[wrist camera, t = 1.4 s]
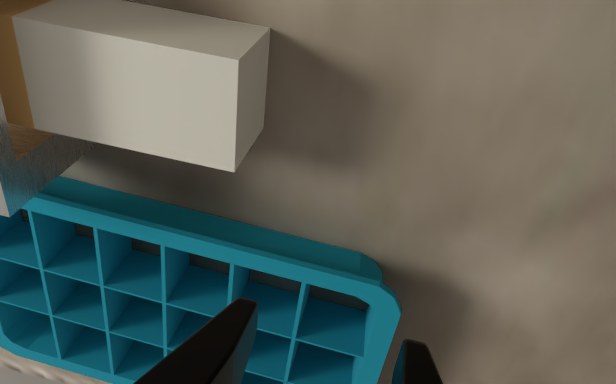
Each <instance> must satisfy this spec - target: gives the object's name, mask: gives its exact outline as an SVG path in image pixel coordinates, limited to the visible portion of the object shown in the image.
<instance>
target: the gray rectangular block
mask: <svg viewBox="0 0 616 384" xmlns="http://www.w3.org/2000/svg"><path fill="white" fill-rule="evenodd" d="M94 146H95V142H93V141H88V140H83V139H79V138H74V137H70V136H65V135H61V134H56V133H52V132H47V131H42V130H38V129H33V128H29V127H24V126H20V125H15V124H11V123H7V120H6V116H5V111H4V107H3V103H2V99H1V95H0V215H2V216H6V217H11V216H12V215H13V214H14V213H15V212H17V211H18V210H19V209H20V208H21V207H23V206H24V205H25V204H26V203H27V202H29V201H30V200H31V199H32V198H33V197H34V196H36V195H37V194H38V193H39V192H40V191H42V190H43V189H44V188H45V187H46V186H47V185H49V184H50V183H51V182H52V181H53V180H55V179H56V178H57V177H58V176H59V175H60V174H62V173H63V172H64V171H65V170H66V169H68V168H69V167H70V166H71V165H72V164H74V163H75V162H76V161H77V160H78V159H79V158H81V157H82V156H83V155H84V154H85V153H87V152H88V151H89V150H90V149H91V148H92V147H94Z"/></svg>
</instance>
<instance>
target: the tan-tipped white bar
mask: <svg viewBox="0 0 616 384" xmlns="http://www.w3.org/2000/svg"><path fill="white" fill-rule="evenodd" d="M270 30H271V28H270V27H265V26H259V25H254V24H249V23H243V22H238V21H232V20H227V19H221V18H216V17H210V16H205V15H200V14H194V13H189V12H183V11H178V10H172V9H167V8H161V7H156V6H151V5H145V4H140V3H134V2H129V1H123V0H0V95H1V99H2V103H3V107H4V111H5V116H6V120H7V123H11V124H15V125H20V126H24V127H29V128H33V129H38V130H42V131H47V132H52V133H56V134H61V135H65V136H70V137H74V138H79V139H83V140H88V141H93V142H97V143H102V144H106V145H111V146H115V147H120V148H125V149H129V150H134V151H138V152H143V153H147V154H152V155H156V156H161V157H166V158H170V159H175V160H179V161H184V162H188V163H193V164H197V165H202V166H207V167H211V168H216V169H220V170H225V171H229V172H235V171H236V169H237V168H238V166H239V165H240V163H241V162H242V160H243V159H244V157H245V156H246V154H247V153H248V151H249V150H250V148H251V147H252V145H253V144H254V142H255V141H256V139H257V137H258V136H259V134H260V133H261V131H262V130H263V128H264V115H265V100H266V86H267V72H268V58H269V44H270Z"/></svg>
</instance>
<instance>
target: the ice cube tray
mask: <svg viewBox="0 0 616 384" xmlns="http://www.w3.org/2000/svg"><path fill="white" fill-rule="evenodd" d="M21 209H25V210H27V211H28V216H29V221H30V222H28V221H24V220H22V216H21V212H20V209H19V210H18V211H17V212H15V213H14V214H13V215H12V216H11V217H6V216H2V215H0V346H1V347H3V348H4V349H6V350H8V351H10V352H12V353H13V354H15V355H18V356H21V357H24V358H28V359H31V360H35V361H38V362H41V363H45V364H48V365H51V366H55V367H58V368H62V369H65V370H68V371H72V372H75V373H79V374H82V375H85V376H89V377H92V378H96V379H99V380H102V381H106V382H109V383H113V384H133V383H134V382H136V381H137V380H138V379H139V378H140V377H142V376H143V375H144V374H145V373H146V372H148V371H149V370H150V369H151V368H153V367H154V366H155V365H156V364H157V363H159V362H160V361H161V360H162V359H163V358H165V357H166V356H167V355H168V354H170V353H171V352H172V351H173V350H174V349H176V348H177V347H178V346H179V345H180V344H182V343H183V342H184V341H185V340H187V339H188V338H189V337H190V336H191V335H193V334H194V333H195V332H196V331H197V330H199V329H200V328H201V327H202V326H204V325H205V324H206V323H207V322H208V321H210V320H211V319H212V318H213V317H214V316H216V315H217V314H218V313H219V312H221V311H222V310H223V309H224V308H225V307H227V306H228V305H229V304H230V303H231V302H233V301H234V300H235V299H237V298H240V297H241V298H246V299H250V300H254V301H256V302H257V303H258V306H259V308H258V321H257V331H256V337H255V340H254V344H253V347H252V350H251V353H250V356H249V359H248V362H247V366H246V369H245V372H244V375H243V378H242V381H241V384H377V382H378V379H379V376H380V373H381V370H382V367H383V365H384V362H385V359H386V356H387V353H388V350H389V347H390V345H391V342H392V339H393V336H394V333H395V330H396V327H397V325H398V322H399V319H400V316H401V310H402V309H401V306H400V304H399V301H398V299H397V296H396V294H395V292H393V291H392V290H391V289H390V288H388V287H387V286H386V285H384V284H383V273H382V271H381V270H380V268H379V266H378V265H377V263H376V262H375V261H374V260H372V259H370V258H369V257H367V256H365V255H364V254H362V253H359V252H355V251H351V250H347V249H343V248H340V247H336V246H332V245H328V244H324V243H320V242H316V241H312V240H308V239H304V238H300V237H296V236H292V235H288V234H285V233H281V232H277V231H273V230H269V229H265V228H261V227H257V226H253V225H249V224H245V223H241V222H237V221H233V220H230V219H226V218H222V217H218V216H214V215H210V214H206V213H202V212H198V211H194V210H190V209H186V208H182V207H178V206H175V205H171V204H167V203H163V202H159V201H155V200H151V199H147V198H143V197H139V196H135V195H131V194H127V193H124V192H120V191H116V190H112V189H108V188H104V187H100V186H96V185H92V184H88V183H84V182H80V181H76V180H72V179H69V178H65V177H61V176H58V177H57V178H56V179H55V180H53V181H52V182H51V183H50V184H49V185H47V186H46V187H45V188H44V189H43V190H42V191H40V192H39V193H38V194H37V195H36V196H34V197H33V198H32V199H31V200H30V201H29V202H27V203H26V204H25V205H24V206H23V207H21ZM75 223H78V224H82V225H86V226H90V227H93V232H94V239H92V238H88V237H84V236H81V235H77V234H76V229H75ZM131 237H132V238H135V239H139V240H143V241H147V242H151V243H154V244H158V245H161V257H159V256H156V255H152V254H148V253H144V252H141V251H137V250H133V249H132V238H131ZM190 253H192V254H196V255H200V256H204V257H208V258H211V259H215V260H219V261H223V262H227V263H230V271H229V275H227V274H223V273H219V272H216V271H212V270H208V269H204V268H201V267H197V266H193V265H190ZM249 269H253V270H257V271H261V272H265V273H269V274H272V275H276V276H280V277H284V278H288V279H291V280H295V281H299V282H302V283H301V289H300V294H298V293H295V292H291V291H287V290H283V289H280V288H276V287H272V286H268V285H265V284H261V283H257V282H253V281H250V280H248V279H249ZM311 285H314V286H318V287H322V288H326V289H329V290H333V291H337V292H341V293H345V294H348V295H352V296H356V297H357V298H359V299H361V300H363V301H364V302H366V303H368V306H367V310H366V311H362V310H358V309H355V308H351V307H347V306H343V305H340V304H336V303H332V302H328V301H325V300H321V299H317V298H313V297H310V296H309V292H310V287H311Z"/></svg>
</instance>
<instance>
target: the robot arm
mask: <svg viewBox="0 0 616 384" xmlns="http://www.w3.org/2000/svg"><path fill="white" fill-rule="evenodd" d="M258 308H259V306H258V303H257V302H256V301H254V300H250V299H246V298H241V297H240V298H237V299H235V300H234V301H233V302H231V303H230V304H229V305H228V306H227V307H225V308H224V309H223V310H222V311H221V312H219V313H218V314H217V315H216V316H214V317H213V318H212V319H211V320H210V321H208V322H207V323H206V324H205V325H204V326H202V327H201V328H200V329H199V330H197V331H196V332H195V333H194V334H193V335H191V336H190V337H189V338H188V339H187V340H185V341H184V342H183V343H182V344H180V345H179V346H178V347H177V348H176V349H174V350H173V351H172V352H171V353H170V354H168V355H167V356H166V357H165V358H163V359H162V360H161V361H160V362H159V363H157V364H156V365H155V366H154V367H153V368H151V369H150V370H149V371H148V372H146V373H145V374H144V375H143V376H142V377H140V378H139V379H138V380H137V381H136V382H134V383H133V384H241V381H242V378H243V375H244V372H245V369H246V366H247V362H248V359H249V356H250V353H251V350H252V347H253V344H254V340H255V337H256V331H257V321H258ZM392 384H443V382H442V380H441V378H440V375H439V373H438V370H437V368H436V366H435V363H434V361H433V358H432V356H431V354H430V351H429V349H428V347H427V345H426V344H425V343H422V342H418V341H414V340H410V339H405V340H404V341H403V343H402V346H401V349H400V352H399V356H398V359H397V362H396V365H395V368H394V373H393V378H392Z"/></svg>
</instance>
